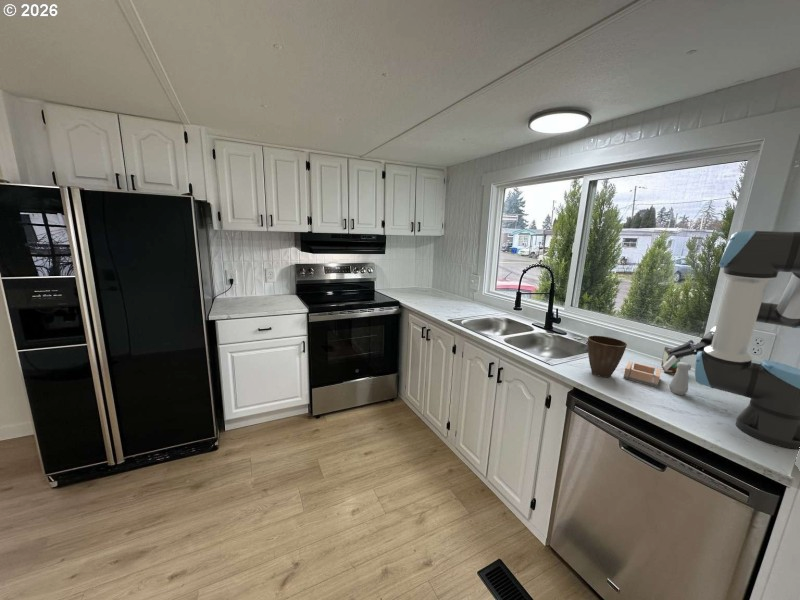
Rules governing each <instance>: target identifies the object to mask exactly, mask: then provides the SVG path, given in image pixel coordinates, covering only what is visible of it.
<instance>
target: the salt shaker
mask: <svg viewBox="0 0 800 600" xmlns="http://www.w3.org/2000/svg"><path fill="white" fill-rule="evenodd" d="M677 367H678V368H677V371H676V373H675V374H674V375H673V377H672V379H671V381H670V383H669V389H670V390H669V391H671V393H673V394H675V395H678V396H685V394H687V392H689V371H691V369H692V365H691V364H690V363H689V362H688V363H687V362H683V361H680V362H678V363H677Z"/></svg>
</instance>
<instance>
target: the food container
mask: <svg viewBox="0 0 800 600" xmlns="http://www.w3.org/2000/svg"><path fill="white" fill-rule="evenodd" d="M671 349H673V348H672V347H669V346H665V347H664V349H663V354H662V355H663V356H662V360H661V364H660V367H661V366H662V367H661V369H662V368H663V365H664V364H665V363H666V362H667V361H666V360H667V359H668V358H669V357H670V354H669V353H668V351H669V350H671ZM676 359H677V361H676V362H675V363H674V364H673V365H672V366H671V367H670V368H669V369H668V370H667V371H666V370H665V369H664V368H663V369H662V371H663V370H664V371H663V373H664V374H669V373H676V371H677V369H678V367H677V363H678V362H681V360H682V359H684V357H680V358H676Z"/></svg>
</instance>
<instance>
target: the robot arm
mask: <svg viewBox="0 0 800 600" xmlns="http://www.w3.org/2000/svg"><path fill="white" fill-rule="evenodd" d="M718 267H719V268H721V269H723V271H722V274H723V275H724V276H725V277H726V278H727V281H726V286H725V290H724V294H723V297H722V300H721V305H720V309H719V314H718V317H717V321H716V324H715V325H714V326H713V327H711V329H710V330H709V331H707V333H706V334H705V335H704V336H703V337H701V339H700V341H699V342H694V340H692V339H690V340H689V341H687V342H685V343H684V344H681V345H678V346H676V347H674V348H672V349H671V350H669V351H668V353H669V354H670V357H669V358H668V359H667V360H666V361H667V362H666V363H665V364H664V365H663V368H664V369H665V370H666V371H667V370H668V369H669V368H670V367H671V366H672V365H673V364H674V363H675V362H676V361H677V359H676V358H680V357H683V358H684V357H688V356H693V355H695V356H696V358H695V368H694V377H695V381H696V383H697V384H699V385H701V386H706V387H708V388H710V389H715V390H719V391H723V392H725V393H726V392H727V393H731V394H733V395H738V396H741V397H745V398H747V399H748V398H749V399H750V401H749V404H748V405H747V406H746V407H745V408H744V409H743V410H742V411H741V412H740V413H739V415H738V416H737V417H736V421H735V426H736V427H737V428H738V429H739V430H741V431H742V432H744V433H746V434H748V435H749V436H751V437H753V438H756V439H758V440H760V441H762V442H766V443H768V444H770V445H775V446H778V447H782V448H787V449H792V450H793V449H794V450H800V449H799V447H800V368H797V367H795V366H792V365H789V364H786V363H781V362H779V361H773V360H767V359H766V360H765V359H764V360H762V361H761V362H759V363H755V362H752V361H753V357H752V355H750V353H748V350H749V347H750V344H751V343H750V342H751V341H752V340H751V339H752V336H753V333H754V329H755V327H756V326H755V325H756V323H764V324H770V325H775V326H782V327H789V328H794V329H800V231H783V230H782V231H780V230H779V231H777V230H776V231H775V230H773V231H772V230H755V229H754V230H739V231H735V232H733V233H732V234H731V236H730V238H729V240H728V242H727V244H726V246H725V249H724V252H723V253H722V256H721V259H720V261H719V263H718ZM779 272H783V273H792V275H791V277H790V280H789V281H788V283H787V285H786V287H785V290H784V291H783V294H782V295H781V297H780V299H779V302H778V303H771V302H770V303H769V302H764V301H763V299H764V295H765V291H766V289H767V284H768V282H771V281H772V280H775V279H777V277H778V274H779Z"/></svg>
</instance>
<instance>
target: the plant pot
mask: <svg viewBox="0 0 800 600" xmlns="http://www.w3.org/2000/svg"><path fill="white" fill-rule="evenodd" d="M627 347H628V343H627V342H626V341H623V340H620V339H617V338H615V337H614V338H613V337H609V336H604V335H589V336H587V355H588V362H589V367H590V370H591V373H592V374H593V375H595V376H598V377H600V378H601V377H603V378H610V377H612V375H613V373H615V370H616V369H617V367H618V366H619V365H620V362H621V360H622V358H623V356H624V354H625V351H626V349H627Z"/></svg>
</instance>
